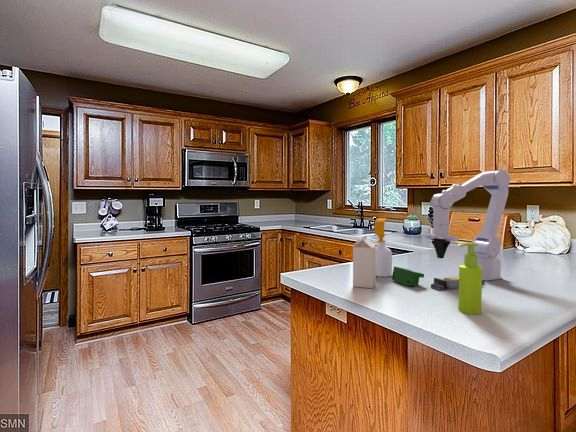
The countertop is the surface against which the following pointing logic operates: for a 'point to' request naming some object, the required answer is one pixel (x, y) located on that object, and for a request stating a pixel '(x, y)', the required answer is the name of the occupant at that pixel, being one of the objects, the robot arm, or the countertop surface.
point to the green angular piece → (406, 276)
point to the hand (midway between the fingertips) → (440, 258)
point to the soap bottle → (382, 251)
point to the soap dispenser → (470, 282)
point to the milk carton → (364, 263)
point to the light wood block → (452, 278)
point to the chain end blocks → (446, 284)
